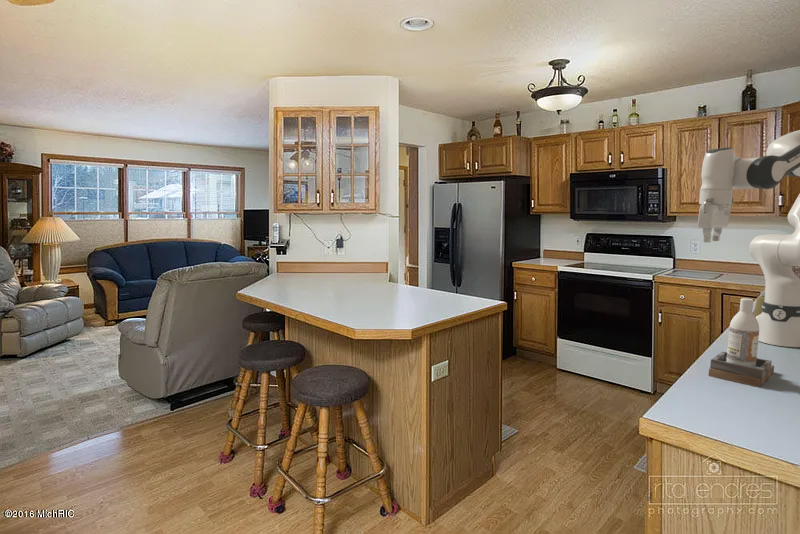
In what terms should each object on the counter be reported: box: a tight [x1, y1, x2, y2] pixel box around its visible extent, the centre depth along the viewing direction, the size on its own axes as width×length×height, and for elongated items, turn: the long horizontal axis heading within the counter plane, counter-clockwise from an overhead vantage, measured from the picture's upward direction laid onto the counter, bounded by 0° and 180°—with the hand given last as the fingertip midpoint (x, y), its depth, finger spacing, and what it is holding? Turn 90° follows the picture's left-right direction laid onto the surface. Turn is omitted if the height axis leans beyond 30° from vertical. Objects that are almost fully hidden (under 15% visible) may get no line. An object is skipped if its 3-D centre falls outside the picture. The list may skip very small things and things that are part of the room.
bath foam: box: [726, 297, 759, 368], centre depth 137 cm, size 7×7×20 cm
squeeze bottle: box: [753, 289, 765, 317], centre depth 196 cm, size 8×8×18 cm
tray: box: [708, 351, 775, 388], centre depth 139 cm, size 18×12×4 cm, turn 132°
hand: (711, 241), depth 156 cm, fingers open, 8 cm apart
